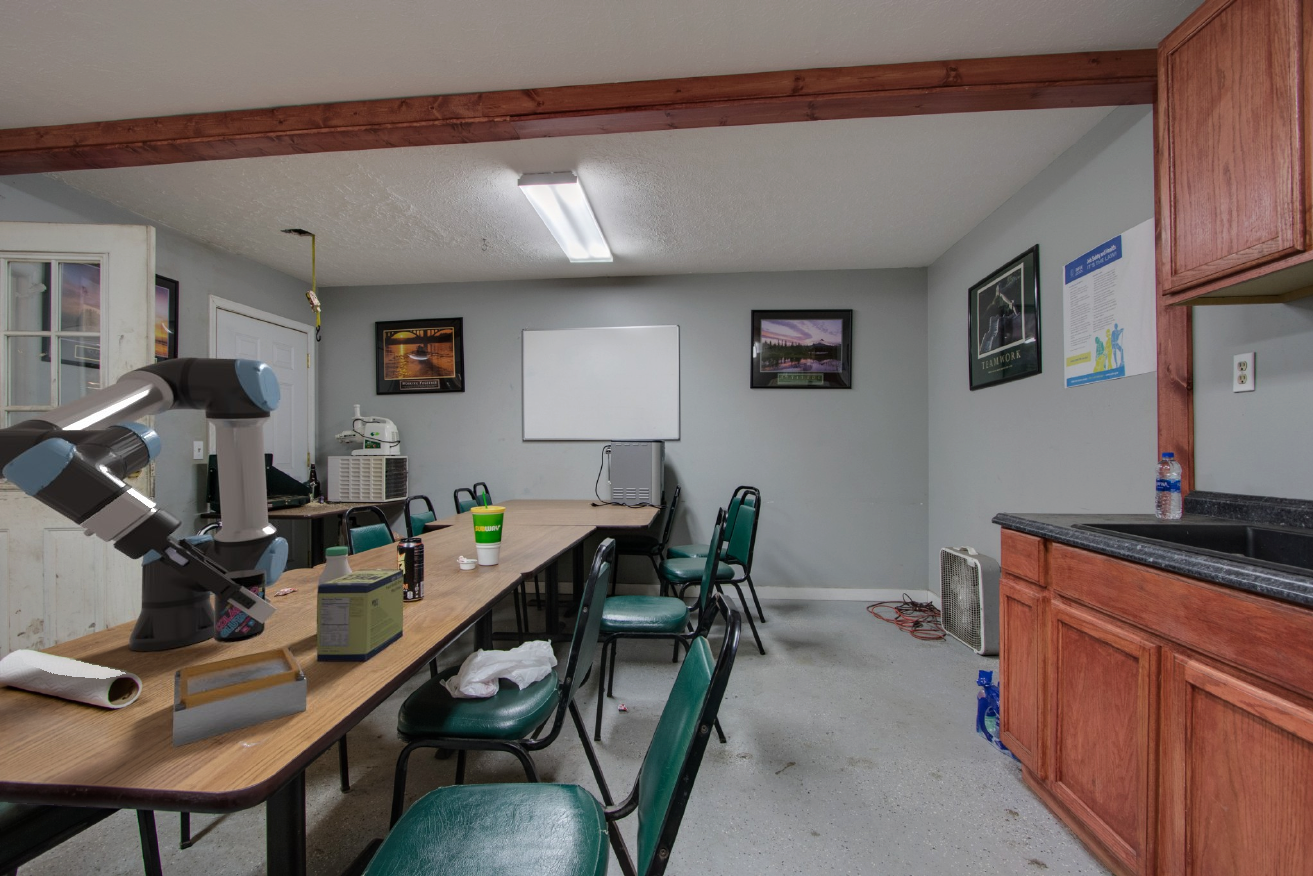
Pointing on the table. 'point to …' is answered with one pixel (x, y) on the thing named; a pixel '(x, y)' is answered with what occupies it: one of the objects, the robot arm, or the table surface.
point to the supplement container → (231, 619)
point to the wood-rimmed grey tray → (236, 694)
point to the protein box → (359, 615)
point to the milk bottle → (334, 566)
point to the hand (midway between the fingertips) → (266, 611)
